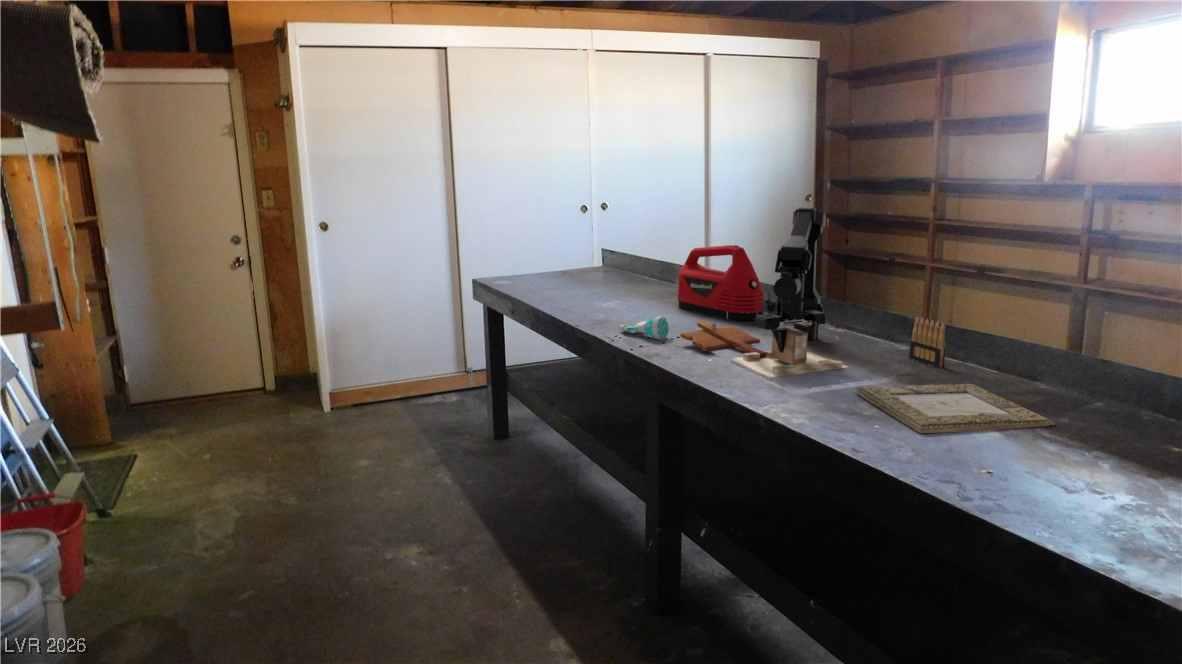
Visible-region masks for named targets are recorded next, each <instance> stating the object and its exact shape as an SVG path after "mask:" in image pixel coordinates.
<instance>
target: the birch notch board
mask: <svg viewBox="0 0 1182 664" xmlns="http://www.w3.org/2000/svg"><path fill="white" fill-rule="evenodd" d="M764 352H766V356H765V357H762V358H760V354H759V353H757V352H753V353H746V352H744V353H742V357H734V358H732V357H731V360H729V361H730V363H731V362H732V363H731V364H733V363H734V364H733V365H735V364H736V365H735V366H737V365H738V366H737V367H739V366H740V368H741V367H742V368H741V369H743V368H745V369H744V370H746V369H747V370H746V371H748V370H749V371H748V372H750V371H751V372H750V373H752V372H753V373H752V374H754V373H755V374H754V375H756V374H757V375H756V376H758V375H759V377H760V376H762V377H761V378H763V379H765V380H767V381H769V382H773V381H772V379H770V378H774V377H776V378H777V377H782V376H783V377H784V376H789V375H797V374H798V375H799V374H800V375H801V374H806V373H812V372H813V373H814V372H815V373H816V372H821V371H831V370H838V369H846V368H849V366H848V365H845V364H843V361H841V360H835V359H832V358H830V359H829V358H826V357H824V356H822V355H818V354H816V353H813V352H810V351H808V350H807V358H806V362H805V363H797V364H794V365H793V364H789V363H786V362H784V361H781V360H779V359H777V358H774V357H772V349H771V350H765V351H764ZM742 365H743V366H742ZM744 366H745V367H744ZM748 368H749V369H748ZM757 372H758V373H757ZM766 376H767V377H766Z"/></svg>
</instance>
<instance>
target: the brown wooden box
mask: <svg viewBox="0 0 1182 664" xmlns="http://www.w3.org/2000/svg"><path fill="white" fill-rule="evenodd" d="M784 328H785V329H787V335H786V341H785V347H784V351H783V353H781V352H779V349H778V346H777V342H776V339H775V337H774V334H773V333H772V339H771V340H772V342H771V343H772V344H771V345H772V346H771V350H772V357H774V358H777V359H779V360H781V361H784V362H786V363H789V364H793V365H794V364H797V363H805V362H806V358H807V351H808V341H807V340H808V333H806V332H803V331H800V330H797V329H794V327H792V326H791V327H790V326H788V325H784Z"/></svg>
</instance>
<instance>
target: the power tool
mask: <svg viewBox="0 0 1182 664" xmlns="http://www.w3.org/2000/svg"><path fill="white" fill-rule="evenodd" d="M719 256H732V257H731V258H732V259H731V265H729V267H728V268H727V269H726V271H725V270H720V269H715V268H707V267H706V266H703V265H702V264H700V263H698V262H699V259H700V258H707V257H719ZM677 280H678V283H677V284H678V285H677V300H678V309H680V308H682V309H681V310H685V309H687V310H686V311H689V310H691V311H690V312H693V311H696V312H695V313H697V312H700V313H699V314H701V313H704V314H703V315H706V314H708V315H707V316H710V315H713V316H712V317H714V316H717V317H716V318H719V317H722V318H721V319H723V318H726V319H725V320H728V319H730V320H729V321H733V320H737V321H742V320H743V321H744V320H746V321H755V318H756V317H757V315H764V313H763V312H762V308H761V305H762V301H764V300H765V299H764V289H763V288H762V285H761V282H760V279H759V278H758V275H757V271H756V270H755V269H754V266H753V264H752V261H751V260H750V258H749V255H748V253H747V252H746V250H745V248H743V247H740V246H739V245H737V244H735V245H732V244H730V245H726V244H725V245H717V246H706V247H705V246H704V247H694V248H693V249H692V250H690V252H689V254H688V256H687V258H686V260H685V262H684V263H683V265H682V266H681V267H680V269H679V271H678V278H677ZM716 308H717V309H716ZM742 312H743V313H742ZM748 312H749V313H748Z"/></svg>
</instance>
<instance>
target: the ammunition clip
mask: <svg viewBox="0 0 1182 664" xmlns="http://www.w3.org/2000/svg"><path fill="white" fill-rule="evenodd" d="M945 327H946V326H945V323H944V322H942V323H941V325H940V322H939V320H937V321H935V322H934V320H933V319H931V321H929V319H928V318H926V319H925V320H924V317H921V318H920V317H919V316H916V317H915V320H914V323H913V328H912V329H913V330H912V334H911V335H912V337H911V340H910V343H909V350H908V351H909V352H908V359H909V358H911V359H910V360H912V359H915V360H918V361H921V362H924V363H927V364H926V365H928V364H931V365H934V366H937V367H942V366H944V367H945V359H946V348H945V343H946V335H945V333H946V328H945ZM915 360H914V361H915ZM918 361H917V362H918ZM921 362H920V363H921ZM924 363H923V364H924ZM931 365H930V366H931ZM934 366H933V367H934ZM937 367H936V368H937ZM942 368H943V367H942Z"/></svg>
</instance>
